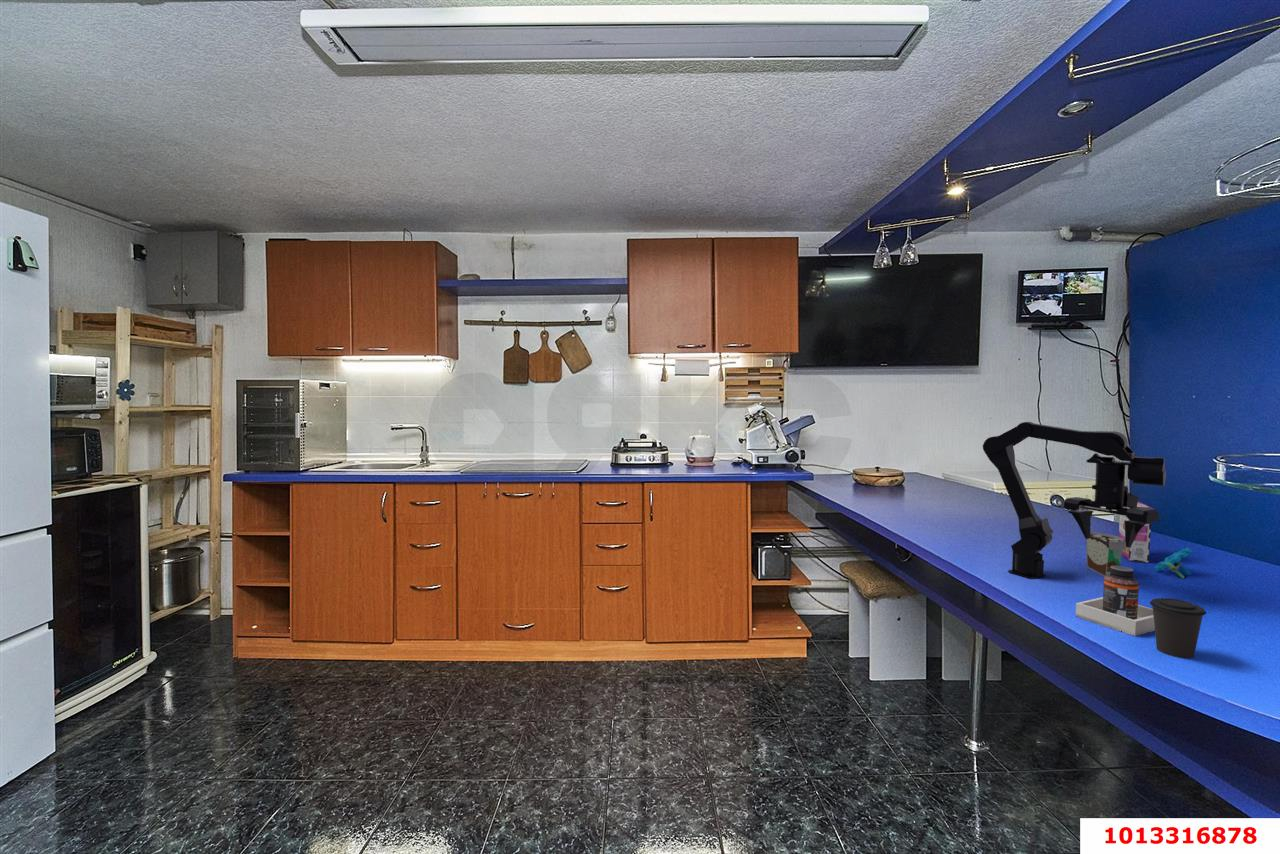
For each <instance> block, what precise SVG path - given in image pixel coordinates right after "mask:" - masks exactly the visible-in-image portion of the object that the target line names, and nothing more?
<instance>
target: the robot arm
mask: <svg viewBox="0 0 1280 854" xmlns="http://www.w3.org/2000/svg"><path fill="white" fill-rule="evenodd" d="M1027 438H1034V439H1038V440H1044V441H1045V440H1046V441H1050V442H1057V443H1064V444H1067V445H1072V446H1073V445H1074V446H1077V447H1081V448H1084V449H1086V450H1088V451H1092V452H1095V453H1093V455H1092V456H1090V458H1088V459H1086V463H1089V464H1095V484H1092V486H1091V489H1092V490H1094V500H1092V498H1085V497H1079V496H1076V497H1075V496H1074V497H1066V498H1065V499H1064V500H1063V502H1062V503H1063V505H1062V507H1063V510H1067V512H1068V513H1069V514H1071V515H1072V517H1073V518H1074V519H1075V521H1076V523H1077V525H1078V526H1079V528H1080V530H1081V533H1082V535H1083V537H1084V539H1085V538H1086V539H1089V538H1090V532H1091V518H1092V515H1093V513H1094V511H1097V512H1103V513H1109V514H1114V515H1119V516H1120V515H1125V516H1126V517H1127V518H1128V519H1129V520H1128V521H1125V543H1126V547H1127V548H1129V547H1131V545H1132V543H1133V542H1134V540H1135V538H1136V536H1137V534H1138V532H1139V531H1140V530H1141V528H1142V527H1143V526H1144V525H1145V524H1151V525H1152V524H1153V523H1155V522H1159V521H1160V513H1159V511H1158V510H1157V509H1156V508H1152V507H1151V508H1152V509H1151V508H1145V507H1137V503H1138V502H1139V499H1140V497H1139V496H1137V495H1135V494H1133V493H1131V492H1129V488H1128V486H1127V485H1125V483H1126V482H1125V481H1126V476H1127V479H1128V480H1129V481H1132V482H1133V484H1134V485H1143V486H1146V485H1147V486H1157V487H1158V486H1159V487H1165V485H1166V479H1167V470H1166V464H1165V462H1166V458H1165V457H1161V456H1160V457H1159V456H1158V457H1157V456H1156V457H1146V456H1145V457H1143V456H1137V455H1136V453H1135V452H1134V450H1132V448H1131V447H1129V440H1128V439H1127V437H1126V436H1125V435H1124V434H1123V433H1121V432H1119V431H1115V430H1114V431H1113V430H1112V431H1108V430H1107V431H1105V430H1103V431H1102V430H1094V431H1091V430H1088V431H1087V430H1084V431H1083V430H1080V429H1079V430H1078V429H1077V430H1076V429H1070V428H1065V427H1061V426H1059V427H1058V426H1052V425H1045V424H1040V423H1034V422H1032V421H1024V422H1020V423H1019V424H1017V425H1016V426H1014V427H1013V428H1011V429H1009V430H1007V431H1005V432H1004V433H1001V434H1000V435H995V436H990V437H988V438H986V439H985V440H984V441H983V444H982V450H983V452H984V454H985V456H986V457H987V458H988V460H989V461H990V462H991V463H992V465H994V467H995V468H996V469H997V470H998V474H999V475H1000V477H1001V480H1002V482H1003V485H1004V487H1005V489H1006V492H1007V494H1008V497H1009V499H1010V502H1011V503H1012V507H1013V508H1014V511H1015V514H1016V515H1017V519H1018V531H1019V536H1020V539H1019V540H1018V541H1016V542H1015V543H1013V544H1012V545H1011V546H1010V547H1011V550H1012V562H1011V563H1012V564H1011V566H1012V567H1011V569H1008V570H1007V572H1008V573H1010V574H1014V575H1017V576H1020V577H1023V578H1028V579H1036V578H1040V577H1046V576H1047V574H1046V573H1044V569H1045V560H1044V559H1043V556H1044V555H1043V554H1042V553H1040V552H1041V551H1042V550H1043V549H1044V548H1045V547H1047V546H1048V545H1050V543H1051V542H1052V540H1053V533H1054V530H1053V529H1052V528H1051V526H1050V523H1049V520H1048V518H1047V517H1045V518H1043V519H1042V518H1041V517H1040V516H1039V515H1038V514H1037V512H1036V510H1035V508H1034V505H1033V503H1032V500H1031V498H1030V496H1029V493H1028V492H1027V489H1026V486H1025V484H1024V482H1023V479H1022V478H1021V474H1020V473H1019V471H1018V468H1017V466H1016V454H1015V449H1014V446H1016V445H1018V444H1019V443H1022V442H1023V441H1024V440H1026V439H1027ZM1101 455H1103V456H1101ZM1115 458H1116V459H1118V460H1119V461H1117V460H1116V459H1115ZM1126 466H1127V475H1126ZM1124 507H1128V508H1129V509H1128V508H1124Z"/></svg>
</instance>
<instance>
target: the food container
mask: <svg viewBox="0 0 1280 854" xmlns="http://www.w3.org/2000/svg"><path fill="white" fill-rule="evenodd" d="M1084 539H1086V538H1085V537H1084ZM1085 548H1086V568H1088V569H1089V570H1091V571H1093V572H1094V573H1097V574H1099V575H1101V576H1102V577H1103V578H1104V577H1105V576H1107V575H1110V567H1111V566H1121V563H1122V558H1123V556H1122V551H1123V549H1125V548H1126V545H1125V542H1124V540H1123V539H1122V538H1120V537H1119V536H1117V535H1112V534H1108V533H1102V532H1095V531H1094V532H1093V531H1092V532H1091V531H1090V538H1089V539H1086V547H1085Z"/></svg>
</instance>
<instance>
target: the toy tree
mask: <svg viewBox="0 0 1280 854" xmlns="http://www.w3.org/2000/svg"><path fill="white" fill-rule="evenodd" d="M1192 552H1193V549H1191V548H1189V547H1186V548H1182V549H1180V550H1179V551H1175V552H1174V553H1172V554H1171V555H1169V556H1167V557H1165V558H1164V560H1162V561H1160V562H1158V563H1157V565H1155V566H1154V567H1153V569H1154V570H1155V571H1156V572H1159V571H1164V570H1165V569H1166V568H1168V569H1169V571H1170V572H1171V573H1173V572H1174V573H1175V574H1176V575H1177V576H1179V577H1180V578H1181V579H1184V578H1185V576H1184V575H1183V573H1184V574H1185V575H1186V576H1190V575H1191V574H1192V573H1191V572H1190V571H1189V570H1188V569H1187V568H1186V567H1185V566H1183V563H1182V562H1181V561H1182V558H1186V557H1187V556H1189V555H1190V554H1191V553H1192ZM1179 569H1180V570H1181V571H1182V572H1183V573H1181V571H1179Z"/></svg>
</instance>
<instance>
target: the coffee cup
mask: <svg viewBox="0 0 1280 854" xmlns="http://www.w3.org/2000/svg"><path fill="white" fill-rule="evenodd" d="M1149 605H1151V607H1152V609H1153V615H1154V626H1155V631H1154V633H1155V634H1154V635H1155V636H1154V637H1155V644H1156V650H1157V651H1158V652H1160V653H1163V654H1165V655H1167V656H1170V657H1175V658H1179V659H1193V658H1194V657H1195V654H1196V653H1195V652H1196V648H1197V644H1198V639H1199V634H1200V630H1201V625H1202V620H1203V616H1205V615H1207V611H1206V609H1204V608H1203V607H1202V606H1201V605H1197V604H1195V603H1192V602H1190V601H1187V600H1183V599H1178V598H1172V597H1170V598H1169V597H1166V598H1165V597H1159V598H1158V597H1157V598H1152V599H1151V600H1150V601H1149Z"/></svg>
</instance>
